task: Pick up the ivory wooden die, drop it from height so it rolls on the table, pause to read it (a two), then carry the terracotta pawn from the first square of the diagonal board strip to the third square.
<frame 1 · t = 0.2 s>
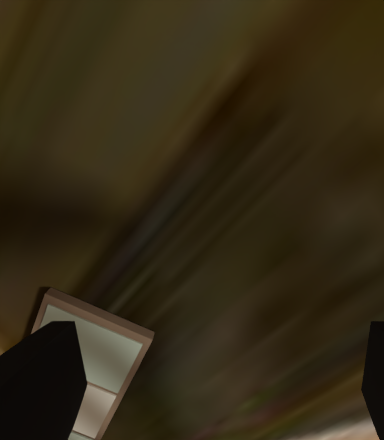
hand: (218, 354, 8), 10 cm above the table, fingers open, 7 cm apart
board: (58, 413, 23), on the table
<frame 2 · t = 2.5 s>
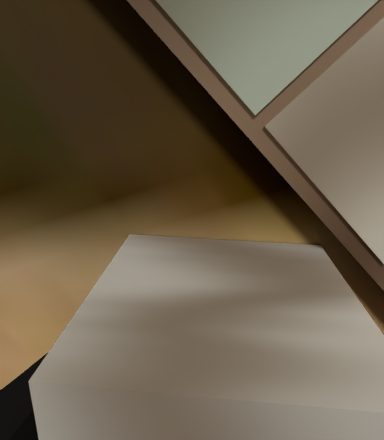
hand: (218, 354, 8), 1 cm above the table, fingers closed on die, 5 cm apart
die: (218, 319, 10), on the table, touching gripper
when the fingers open (10 cm above the table, at t = 4.3 s): die drops 8 cm, on the table.
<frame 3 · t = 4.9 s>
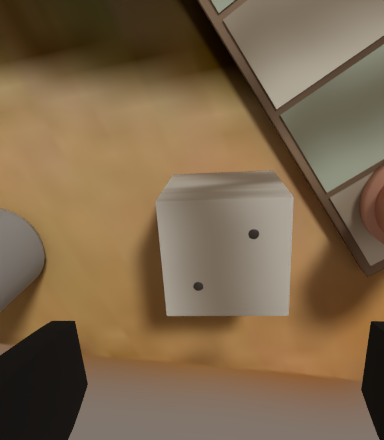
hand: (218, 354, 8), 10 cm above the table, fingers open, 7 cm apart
board: (335, 70, 15), on the table
die: (223, 218, 18), on the table
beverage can: (11, 243, 19), on the table
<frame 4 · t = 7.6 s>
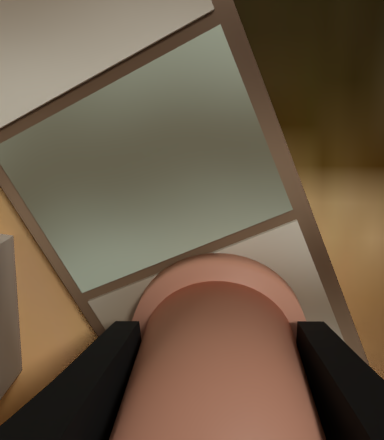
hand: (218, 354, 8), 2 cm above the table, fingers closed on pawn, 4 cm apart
board: (104, 86, 8), on the table
pawn: (218, 328, 9), point 1 cm above the table, touching board, gripper
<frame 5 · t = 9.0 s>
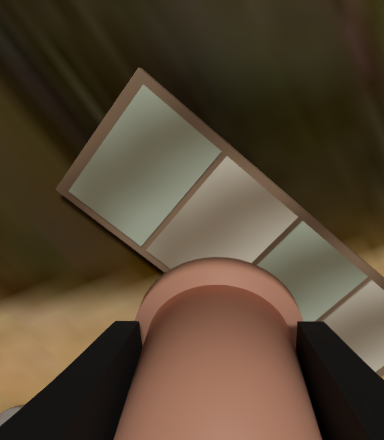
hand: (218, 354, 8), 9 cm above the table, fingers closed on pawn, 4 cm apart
board: (253, 256, 17), on the table
pawn: (218, 330, 9), point 8 cm above the table, touching gripper
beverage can: (34, 424, 23), on the table
when the fingers open (3 cm above the table, at t = 10.4 s): pawn stays where it is, resting on board.
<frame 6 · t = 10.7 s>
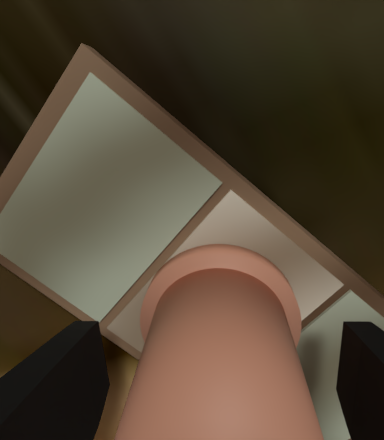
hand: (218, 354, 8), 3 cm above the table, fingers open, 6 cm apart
board: (270, 333, 11), on the table
pawn: (219, 312, 10), point 1 cm above the table, touching board
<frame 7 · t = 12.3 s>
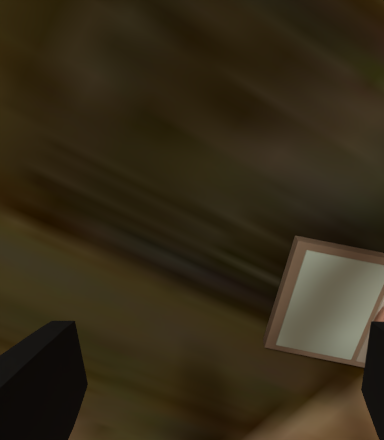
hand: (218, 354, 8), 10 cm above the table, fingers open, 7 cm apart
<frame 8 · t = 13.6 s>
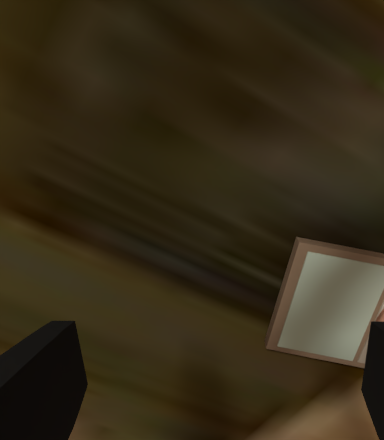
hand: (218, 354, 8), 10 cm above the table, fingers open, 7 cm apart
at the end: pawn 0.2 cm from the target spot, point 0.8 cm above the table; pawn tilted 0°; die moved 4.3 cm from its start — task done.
